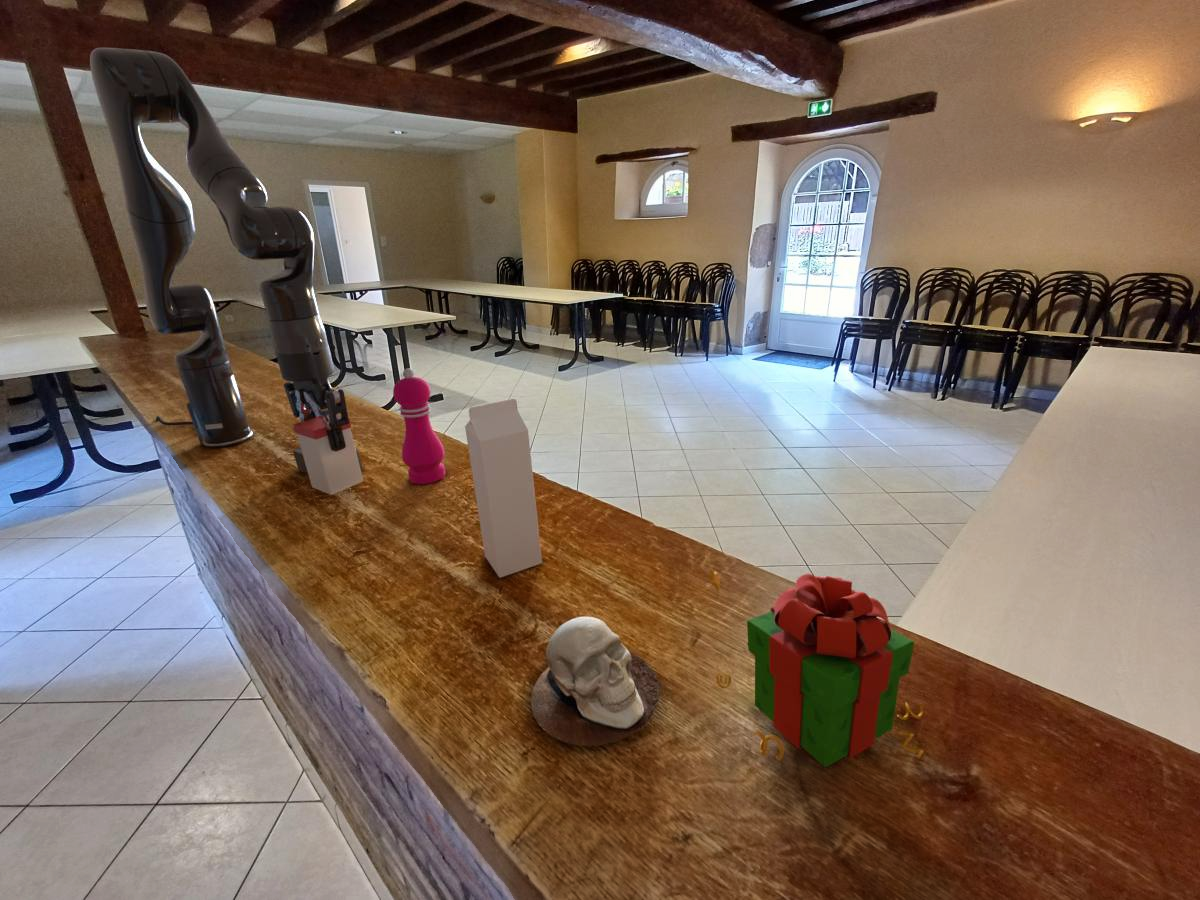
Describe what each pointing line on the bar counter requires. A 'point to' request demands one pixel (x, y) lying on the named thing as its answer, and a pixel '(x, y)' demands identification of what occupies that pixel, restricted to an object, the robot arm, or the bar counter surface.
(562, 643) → the skull
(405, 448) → the pepper mill
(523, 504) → the milk
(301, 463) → the block
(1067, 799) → the bar counter surface
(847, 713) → the gift wrap
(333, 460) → the container
